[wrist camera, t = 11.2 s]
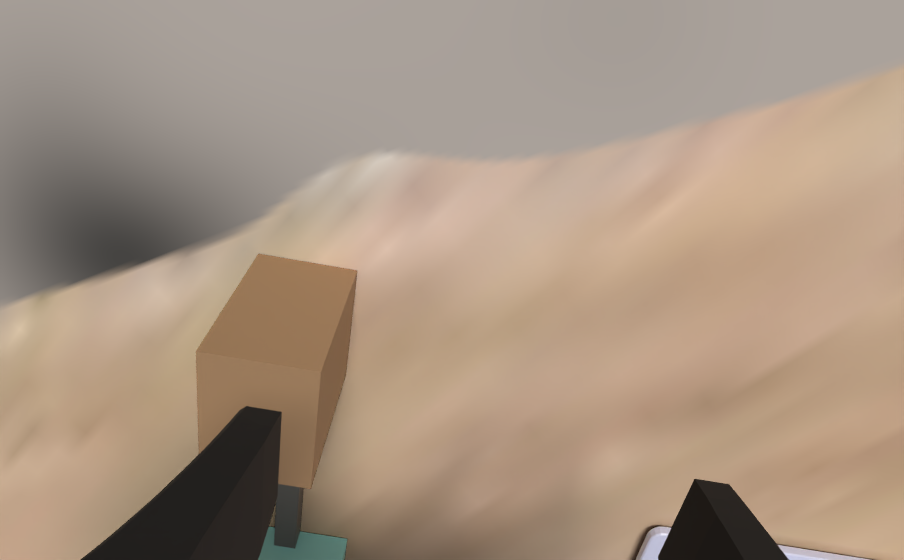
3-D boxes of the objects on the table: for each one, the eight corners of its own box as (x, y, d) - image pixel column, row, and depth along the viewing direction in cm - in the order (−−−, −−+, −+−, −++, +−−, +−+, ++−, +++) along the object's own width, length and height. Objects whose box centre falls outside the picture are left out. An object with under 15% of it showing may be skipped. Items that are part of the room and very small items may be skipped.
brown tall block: (381, 274, 21) (351, 377, 17) (337, 617, 29) (309, 744, 25) (233, 249, 21) (164, 346, 16) (231, 601, 29) (185, 725, 25)
